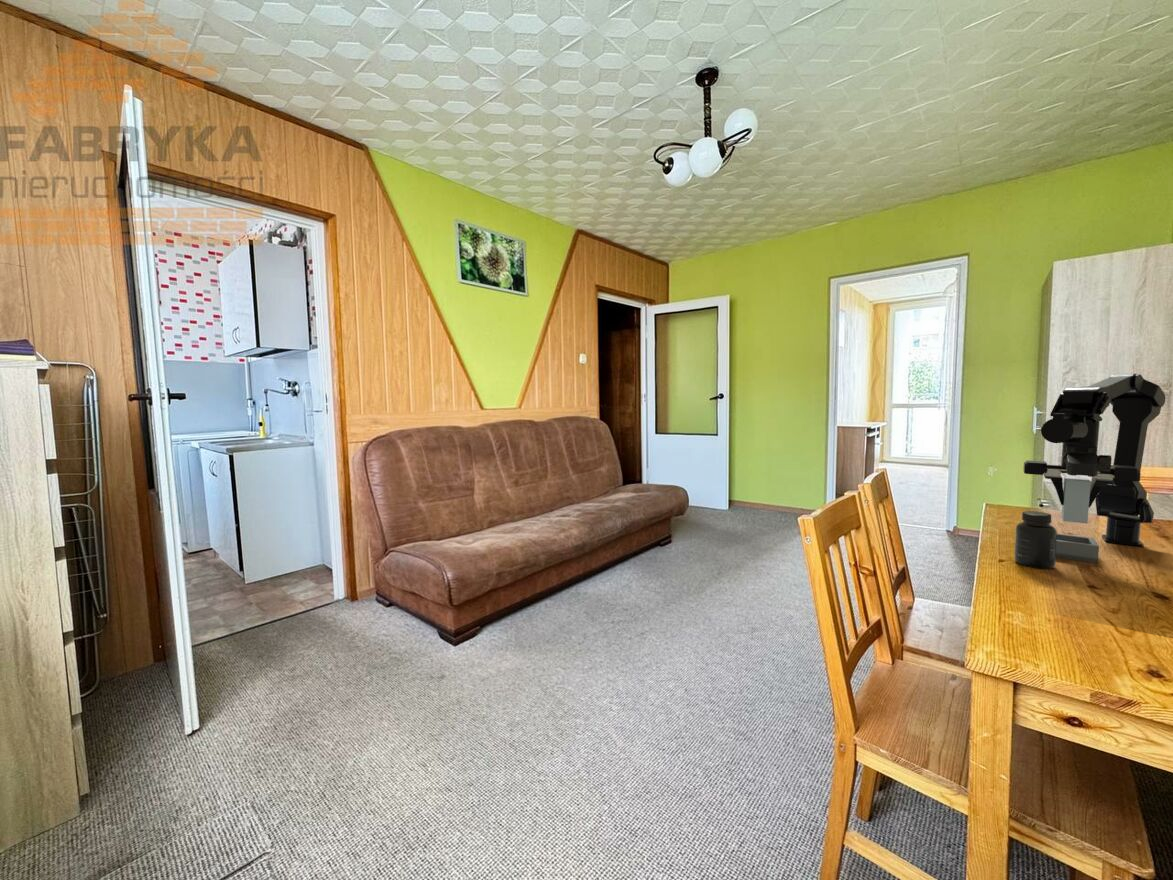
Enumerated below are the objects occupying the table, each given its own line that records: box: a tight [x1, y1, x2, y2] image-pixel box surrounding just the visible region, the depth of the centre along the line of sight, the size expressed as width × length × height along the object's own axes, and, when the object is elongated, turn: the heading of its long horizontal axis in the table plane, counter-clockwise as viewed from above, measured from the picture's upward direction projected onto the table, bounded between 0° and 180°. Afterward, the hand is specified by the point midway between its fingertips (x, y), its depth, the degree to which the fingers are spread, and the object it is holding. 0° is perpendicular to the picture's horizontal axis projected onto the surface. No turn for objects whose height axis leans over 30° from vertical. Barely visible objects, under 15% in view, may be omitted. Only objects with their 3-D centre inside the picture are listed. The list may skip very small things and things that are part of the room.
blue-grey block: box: [1060, 476, 1091, 524], centre depth 112 cm, size 4×4×10 cm
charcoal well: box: [1056, 533, 1100, 564], centre depth 113 cm, size 8×8×4 cm
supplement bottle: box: [1014, 510, 1058, 570], centre depth 108 cm, size 7×7×12 cm
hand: (1075, 506), depth 112 cm, fingers closed on blue-grey block, 4 cm apart
